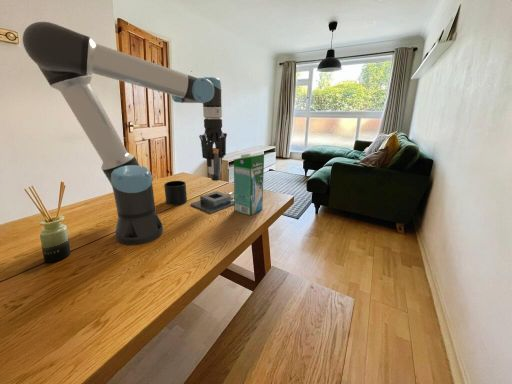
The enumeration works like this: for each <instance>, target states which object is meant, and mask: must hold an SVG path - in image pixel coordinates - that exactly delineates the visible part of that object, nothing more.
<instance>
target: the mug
mask: <svg viewBox="0 0 512 384" xmlns="http://www.w3.org/2000/svg"><path fill="white" fill-rule="evenodd" d="M164 195H165V203H166V204H167V205H168V206H180V205H183V204H185V203H187V201H188V199H187V198H188V197H187V196H188V195H187V185H186V181H183V180H171V181H167V182H165V183H164Z"/></svg>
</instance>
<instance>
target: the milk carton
mask: <svg viewBox="0 0 512 384" xmlns="http://www.w3.org/2000/svg"><path fill="white" fill-rule="evenodd" d="M264 162H265V154H264V153H260V154H254V155H251V153H245V154H241V155H240V158H239V157H238V158H235V159H233V192H234V195H233V199H234V205H233V207H234V209H233V210H234V211H235V212H238V213H241V214H244V215H248V216H251V217H252V215H254V214H256V213H257V212H260V211H262V210H263V206H264V205H263V204H264V203H263V201H264V199H263V198H264V173H265V172H264V171H265V169H264V167H265V163H264Z"/></svg>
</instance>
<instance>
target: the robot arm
mask: <svg viewBox="0 0 512 384" xmlns="http://www.w3.org/2000/svg"><path fill="white" fill-rule="evenodd" d="M22 44H23V48H24V50H25V52H26V54H27V56H28V57H29V58H30V59H31V60H32V61H33V62H34V63H35V64H36V65H37V67H38V69H40V72H41V73H42V75H43V76H44V78H45V81H47V82H48V84H49V86H50V87H51V88H53V89H55V90H57V91H59V92H60V93H61V95H62V97H63V99H64V100H65V101H66V103H67V105H68V107H69V109H70V110H71V111H72V113H73V115H74V117H75V118H76V120H77V122H78V124H79V125H80V127H81V128H82V129H83V132H84V133H85V134H86V136H87V138H88V140H89V141H90V143H91V145H92V147H93V148H94V149H95V151H96V153H97V155H98V156H99V158H100V159H101V161H102V164H101V166H100V169H101V170H102V171H103V173H104V175H105V177H106V178H107V180H108V181H109V183H110V185H111V188H112V192H113V196H114V201H115V206H116V212H117V221H116V225H115V231H114V236H115V240H116V241H117V243H119V244H120V245H124V246H125V245H126V246H136V245H138V246H139V245H142V244H146V243H150V242H152V241H155V240H157V239H158V238H160V237H161V236H162V235H163V233H164V226H163V223H162V221H161V219H160V217H159V215H158V213H157V211H156V203H155V196H154V187H153V186H154V185H153V176H152V173H151V171H150V169H149V168H148V167H146V166H141V165H140V164H139V161H138V160H137V158H136V156H135V155H134V154H133V153H130V152H128V151H127V149H126V147H125V145H124V143H123V142H122V139H121V137H120V135H119V134H118V132H117V130H116V128H115V126H114V125H113V123H112V121H111V119H110V117H109V116H108V114H107V111H106V110H105V108H104V106H103V104H102V103H101V100H100V98H99V97H98V95H97V93H96V91H95V89H94V88H93V86H92V84H91V81H92V77H93V75H92V74H95V75H98V76H102V77H106V78H108V79H112V80H117V81H120V82H124V83H127V84H131V85H134V86H137V87H142V88H146V89H149V90H152V91H156V92H160V93H163V94H168V95H170V96H171V99H172V100H173V102H175V103H181V104H183V103H185V104H196V103H197V104H202V111H203V112H202V113H203V114H202V115H203V118H204V119H203V126H204V133H203V134H199V139H200V146H201V152H202V153H201V154H202V158H203V159H205V160H206V166H207V168H208V174H210V175H211V174H214V163H213V159H212V151H213V148H219V170H220V174H221V173H223V172H222V165H223V159H224V158H225V156H226V155H227V153H226V151H227V136H228V133H226V132H223V131H222V128H223V119H222V117H223V112H222V111H223V110H222V109H223V108H222V83H221V79H220V78H219V77H213V76H212V77H211V76H210V77H209V76H208V77H206V76H205V77H195V76H193V75H190V74H186V73H184V72H181V71H178V70H174V69H172V68H168V67H166V66H163V65H160V64H157V63H154V62H151V61H148V60H145V59H142V58H139V57H136V56H135V55H130V54H127V53H125V52H122V51H119V50H116V49H114V48H111V47H110V48H109V47H107V46H105V45H102V44H98V43H97V42H95V41H94V40H93V39H92V37H91V36H89V35H85V34H83V33H79V32H77V31H74V30H72V29H69V28H66V27H64V26H61V25H59V24H57V23H54V22H49V21H35V22H34V23H31V24H29V25H28V26H27V27H25V29H24V31H23V35H22ZM214 145H215V147H214Z"/></svg>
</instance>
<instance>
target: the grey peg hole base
mask: <svg viewBox="0 0 512 384" xmlns="http://www.w3.org/2000/svg"><path fill="white" fill-rule="evenodd" d="M232 196H234V191H231V192H229V193H223V192H220V191H217V190H216V191H213V192H210V193H206V194H204V195H200V196H199V198H200V199H199V200H198V201H195V202H191V203H190V206H191V207H194V208H196V209H199V210H200V211H203V212H205V213H208V214H213V213H216V212H218V211H221V210H224V209H226V208H227V209H228V207H229V208H230V207H232V206H234V197H232Z"/></svg>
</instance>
